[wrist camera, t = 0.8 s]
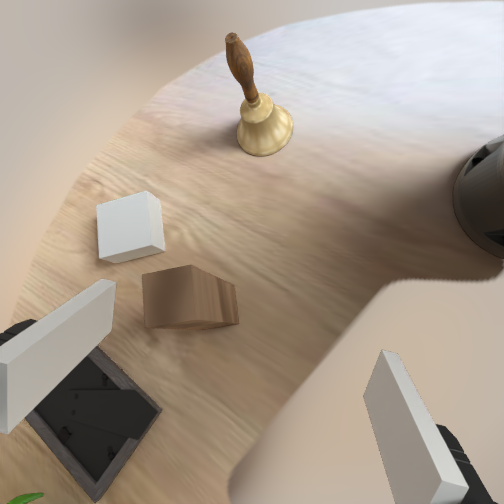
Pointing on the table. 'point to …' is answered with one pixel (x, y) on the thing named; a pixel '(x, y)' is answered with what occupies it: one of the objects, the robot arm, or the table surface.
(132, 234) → the white block
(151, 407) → the picture frame
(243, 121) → the hand bell
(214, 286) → the walnut block
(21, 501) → the snack cup
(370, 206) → the table surface
